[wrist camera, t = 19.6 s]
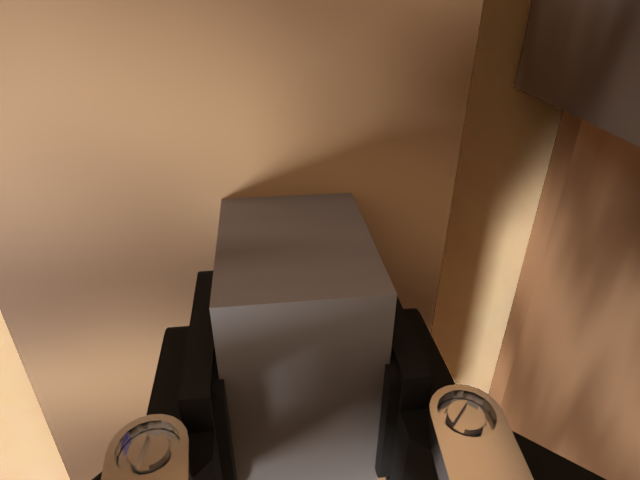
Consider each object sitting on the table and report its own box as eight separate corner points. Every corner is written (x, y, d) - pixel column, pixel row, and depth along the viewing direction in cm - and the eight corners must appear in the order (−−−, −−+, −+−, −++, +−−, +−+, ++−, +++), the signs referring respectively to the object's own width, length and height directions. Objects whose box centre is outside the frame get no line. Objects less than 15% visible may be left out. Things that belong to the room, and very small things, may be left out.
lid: (388, 454, 20) (440, 634, 15) (112, 486, 19) (58, 695, 13) (464, -168, 10) (715, -318, 5) (-122, -191, 9) (-711, -437, 3)
